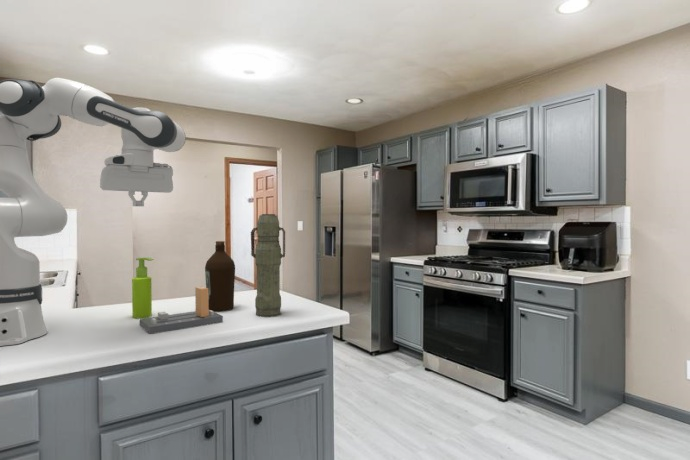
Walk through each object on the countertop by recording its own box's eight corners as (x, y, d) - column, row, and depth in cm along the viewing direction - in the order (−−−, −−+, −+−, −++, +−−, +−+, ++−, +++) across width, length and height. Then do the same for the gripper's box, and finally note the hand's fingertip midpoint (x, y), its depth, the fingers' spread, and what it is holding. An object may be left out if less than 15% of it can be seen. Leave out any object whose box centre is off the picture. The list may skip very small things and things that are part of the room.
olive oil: (234, 305, 160) (233, 240, 159) (236, 311, 150) (236, 241, 149) (205, 306, 156) (204, 240, 156) (205, 313, 146) (205, 242, 146)
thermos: (251, 311, 149) (251, 214, 148) (285, 310, 151) (285, 214, 150) (249, 317, 140) (249, 214, 139) (285, 316, 142) (285, 214, 141)
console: (149, 333, 120) (149, 321, 120) (139, 325, 130) (139, 313, 129) (222, 322, 134) (222, 310, 134) (208, 315, 143) (208, 304, 143)
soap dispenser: (146, 318, 138) (146, 258, 137) (128, 317, 139) (127, 258, 139) (158, 314, 144) (157, 257, 143) (140, 313, 145) (139, 256, 144)
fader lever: (200, 317, 131) (200, 288, 131) (195, 314, 135) (195, 286, 135) (208, 315, 133) (208, 288, 132) (203, 313, 137) (202, 286, 136)
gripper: (169, 165, 137) (170, 207, 137) (98, 159, 124) (99, 205, 125) (175, 163, 132) (176, 206, 133) (102, 157, 119) (102, 205, 120)
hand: (138, 206), depth 128 cm, fingers closed
